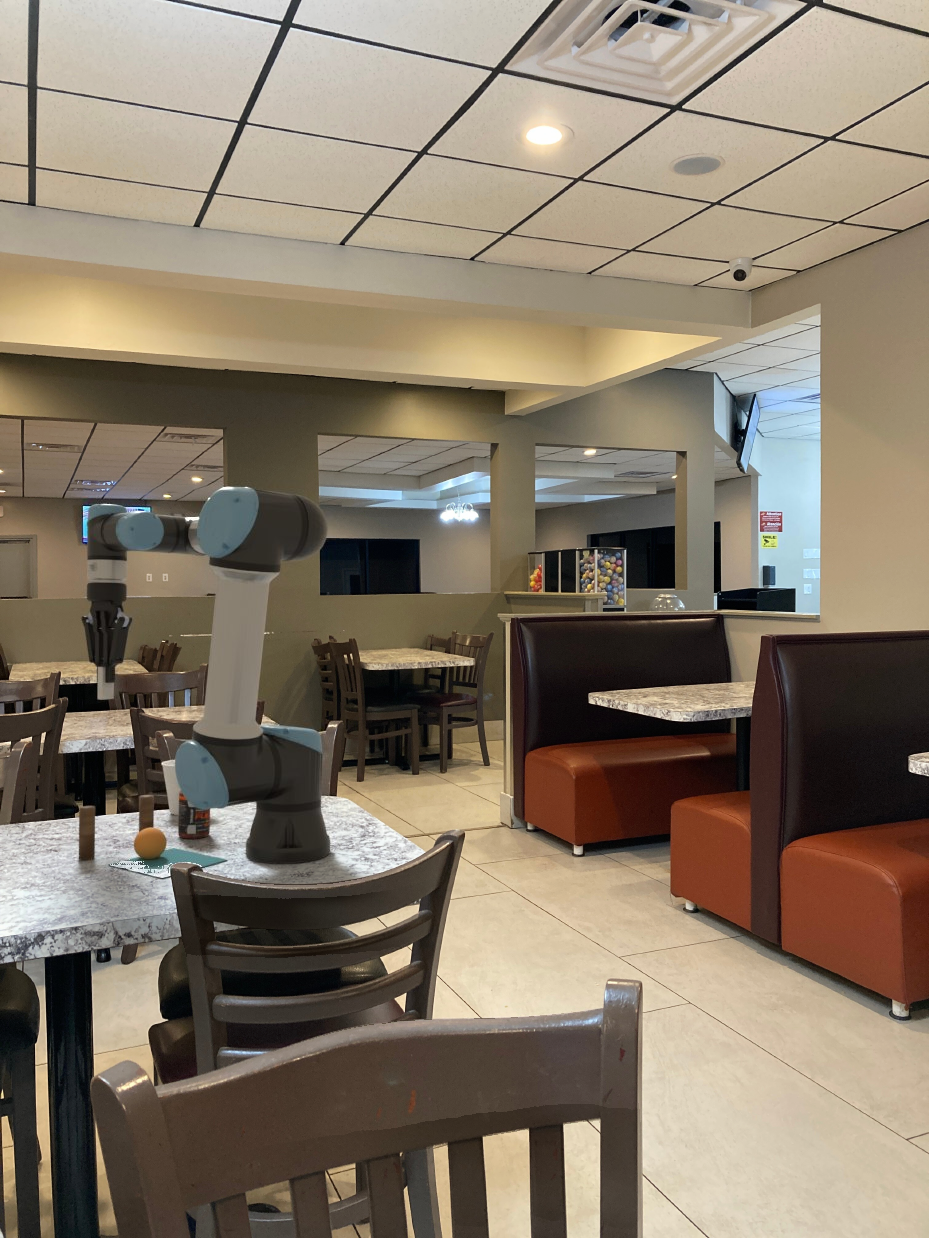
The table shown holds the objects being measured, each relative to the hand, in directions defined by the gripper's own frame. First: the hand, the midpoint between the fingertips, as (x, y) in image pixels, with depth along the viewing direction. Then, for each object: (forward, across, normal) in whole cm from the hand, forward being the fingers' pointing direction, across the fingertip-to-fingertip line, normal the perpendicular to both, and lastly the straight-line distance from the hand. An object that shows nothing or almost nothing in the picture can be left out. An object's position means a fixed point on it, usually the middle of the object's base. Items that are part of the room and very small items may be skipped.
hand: (105, 698), depth 189 cm
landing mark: (+26, +32, -11) cm, 43 cm away
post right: (+26, +18, -5) cm, 32 cm away
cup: (+26, +3, +18) cm, 32 cm away
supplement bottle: (+26, +20, +5) cm, 34 cm away
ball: (+23, +27, -11) cm, 37 cm away
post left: (+26, +18, -17) cm, 36 cm away
